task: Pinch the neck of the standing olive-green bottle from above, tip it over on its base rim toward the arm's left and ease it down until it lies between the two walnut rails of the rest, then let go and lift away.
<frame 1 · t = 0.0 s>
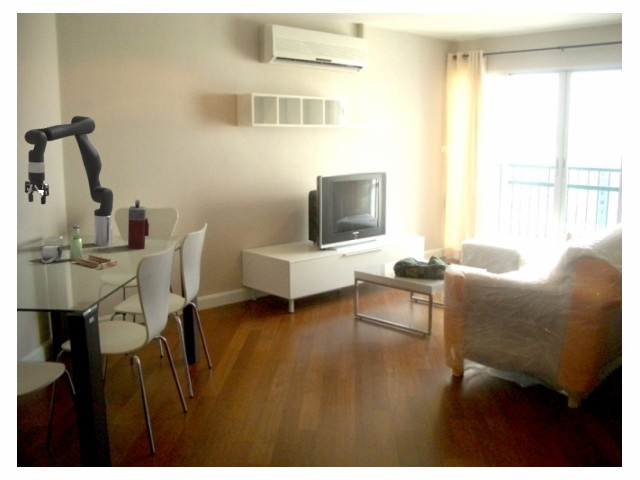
hand: (37, 203, 304), 29 cm above the table, tool pointing down, fingers open, 8 cm apart
dark red tall container: (138, 247, 351), on the table
ceramic mug: (50, 261, 310), on the table
bottle: (76, 259, 316), on the table
rest: (93, 263, 311), on the table
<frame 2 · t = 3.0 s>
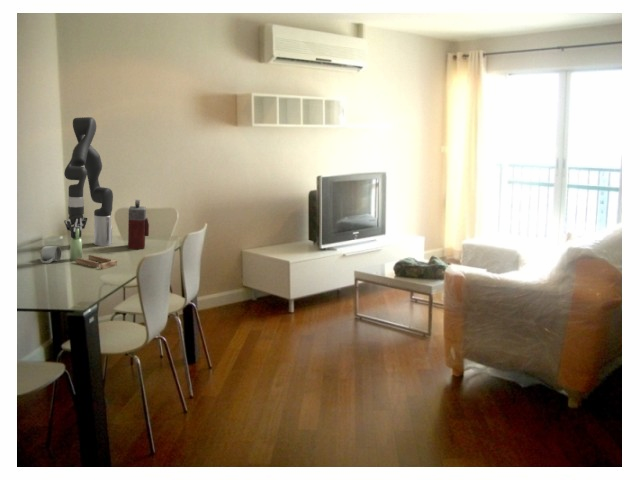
hand: (76, 237, 313), 12 cm above the table, tool pointing down, fingers closed on bottle, 3 cm apart
bottle: (76, 259, 316), on the table, touching gripper
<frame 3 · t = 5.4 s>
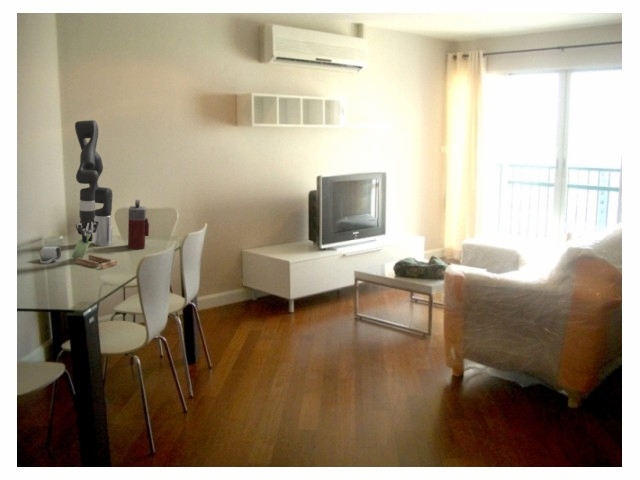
hand: (87, 241, 310), 11 cm above the table, tool pointing down, fingers closed on bottle, 3 cm apart
bottle: (77, 257, 315), point 1 cm above the table, tilted 29°, touching gripper
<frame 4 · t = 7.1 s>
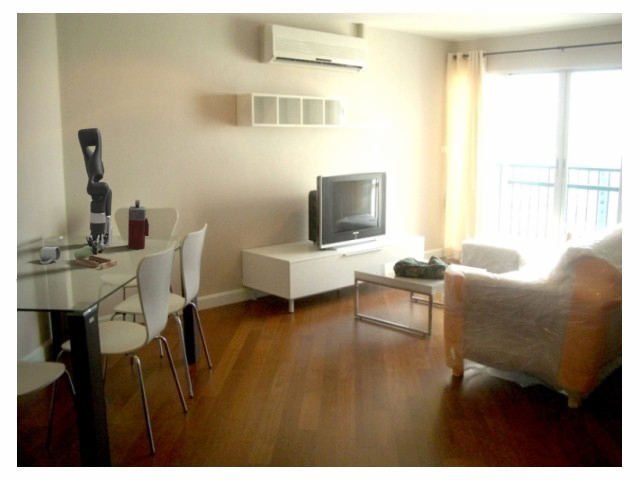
hand: (97, 253, 309), 6 cm above the table, tool pointing down, fingers closed on bottle, 3 cm apart
bottle: (78, 255, 315), point 2 cm above the table, tilted 64°, touching gripper
when the fingers open (3 cm above the table, at t = 8.1 s): bottle stays where it is and tips over, point 3 cm above the table.
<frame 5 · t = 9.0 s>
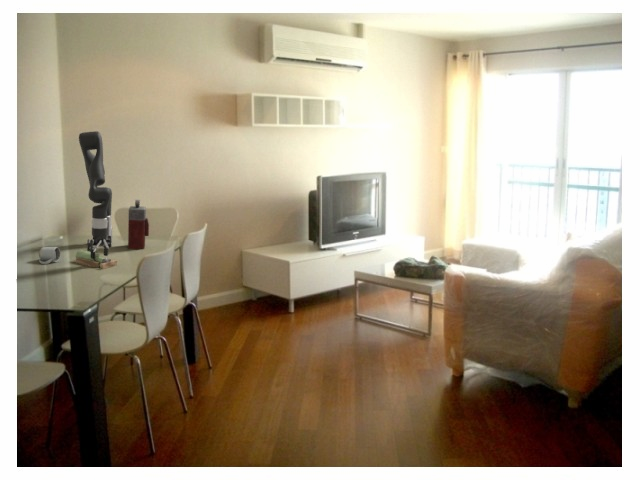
hand: (99, 257, 309), 4 cm above the table, tool pointing down, fingers open, 8 cm apart
bottle: (80, 255, 314), point 3 cm above the table, tilted 90°
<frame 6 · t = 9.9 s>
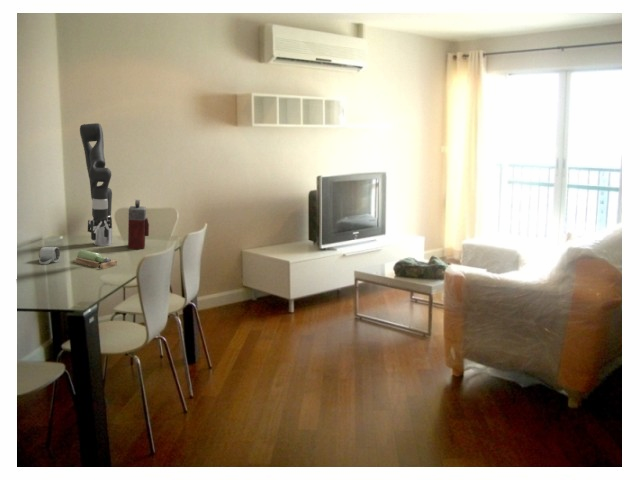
hand: (100, 238, 307), 14 cm above the table, tool pointing down, fingers open, 8 cm apart
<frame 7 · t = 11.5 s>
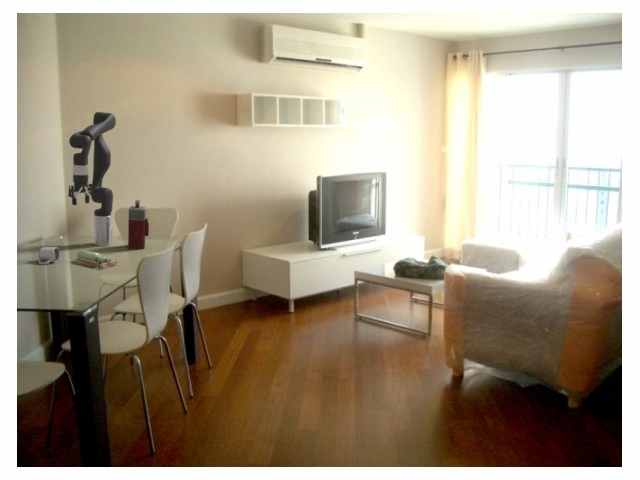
hand: (80, 204, 318), 28 cm above the table, tool pointing down, fingers open, 8 cm apart
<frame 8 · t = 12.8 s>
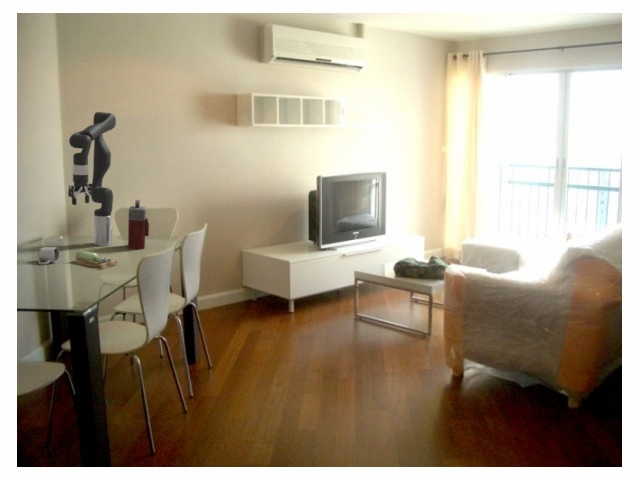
hand: (80, 203, 318), 28 cm above the table, tool pointing down, fingers open, 8 cm apart
bottle: (79, 255, 314), point 3 cm above the table, tilted 90°
at the end: bottle tilted 90°; bottle inside the target area (1.2 cm from its centre), point 2.7 cm above the table; the gripper is holding nothing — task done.
